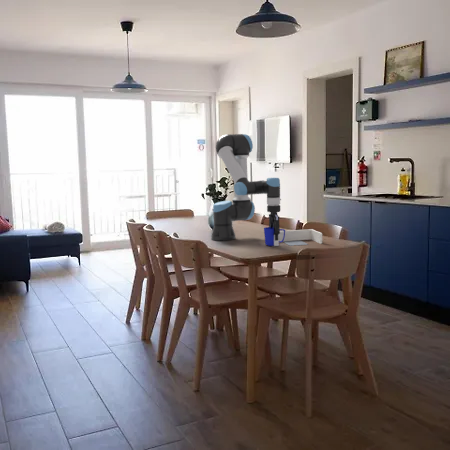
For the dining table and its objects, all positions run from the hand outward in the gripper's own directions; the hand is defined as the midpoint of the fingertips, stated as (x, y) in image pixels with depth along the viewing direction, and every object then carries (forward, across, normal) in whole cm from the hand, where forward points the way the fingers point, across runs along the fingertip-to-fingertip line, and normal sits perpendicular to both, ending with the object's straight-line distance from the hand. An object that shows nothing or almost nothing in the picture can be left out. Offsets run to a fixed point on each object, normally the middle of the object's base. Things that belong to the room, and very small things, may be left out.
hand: (274, 244), depth 303 cm
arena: (0, +4, -14) cm, 15 cm away
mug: (0, -1, 0) cm, 1 cm away
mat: (0, +2, -13) cm, 13 cm away
